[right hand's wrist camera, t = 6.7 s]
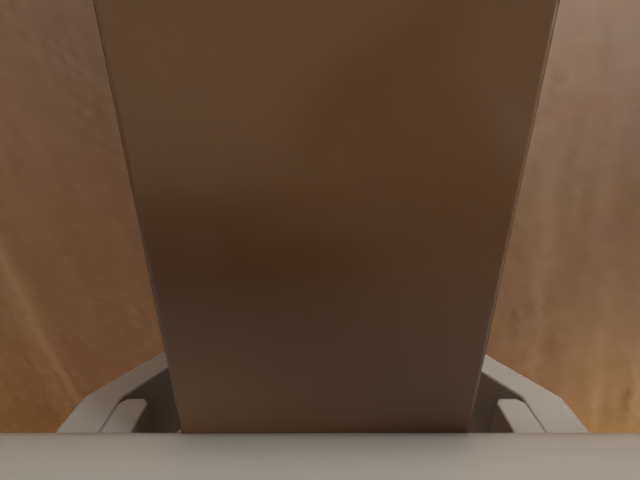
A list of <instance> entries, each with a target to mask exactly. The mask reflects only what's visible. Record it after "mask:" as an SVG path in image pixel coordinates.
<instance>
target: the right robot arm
mask: <svg viewBox="0 0 640 480" xmlns="http://www.w3.org/2000/svg"><path fill="white" fill-rule="evenodd" d="M180 429H181V428H180V423H179V418H178V413H177V408H176V403H175V398H174V394H173V389H172V384H171V379H170V374H169V369H168V364H167V359H166V354H165V351H163V352H161V353H160V354H158V355H156V356H154V357H153V358H151V359H149V360H147V361H146V362H144V363H142V364H141V365H139V366H137V367H135V368H134V369H132V370H130V371H128V372H127V373H125V374H123V375H122V376H120V377H118V378H116V379H115V380H113V381H111V382H109V383H108V384H106V385H104V386H103V387H101V388H99V389H97V390H96V391H94V392H92V393H90V394H89V395H87V396H85V397H84V398H83V399H82V400H81V401H80V403H79V404H78V405H77V406H76V407H75V409H74V410H73V411H72V412H71V413H70V415H69V416H68V417H67V418H66V419H65V421H64V422H63V423H62V424H61V426H60V427H59V428H58V429H57V430H56V432H55V433H0V480H640V433H590V432H589V431H588V430H587V429H586V427H585V426H584V425H583V424H582V423H581V421H580V420H579V419H578V418H577V417H576V415H575V414H574V413H573V412H572V411H571V409H570V408H569V407H568V406H567V405H566V403H565V402H564V401H563V400H562V399H561V398H560V397H558V396H557V395H555V394H553V393H552V392H550V391H548V390H546V389H545V388H543V387H541V386H539V385H538V384H536V383H534V382H532V381H531V380H529V379H527V378H525V377H524V376H522V375H520V374H519V373H517V372H515V371H513V370H512V369H510V368H508V367H506V366H505V365H503V364H501V363H499V362H498V361H496V360H494V359H492V358H491V357H489V356H487V355H486V354H485V357H484V362H483V366H482V371H481V376H480V381H479V385H478V390H477V395H476V399H475V404H474V409H473V414H472V418H471V423H470V428H469V433H202V434H184V433H177V432H178V431H179V430H180Z"/></svg>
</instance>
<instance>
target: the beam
mask: <svg viewBox="0 0 640 480" xmlns="http://www.w3.org/2000/svg"><path fill="white" fill-rule="evenodd" d="M93 2H94V7H95V12H96V17H97V22H98V26H99V31H100V36H101V41H102V46H103V51H104V56H105V61H106V66H107V70H108V75H109V80H110V85H111V90H112V95H113V100H114V105H115V110H116V115H117V119H118V124H119V129H120V134H121V139H122V144H123V149H124V154H125V159H126V163H127V168H128V173H129V178H130V183H131V188H132V193H133V198H134V203H135V208H136V212H137V217H138V222H139V227H140V232H141V237H142V242H143V247H144V252H145V256H146V261H147V266H148V271H149V276H150V281H151V286H152V291H153V296H154V301H155V305H156V310H157V315H158V320H159V325H160V330H161V335H162V340H163V345H164V349H165V354H166V359H167V364H168V369H169V374H170V379H171V384H172V389H173V394H174V398H175V403H176V408H177V413H178V418H179V423H180V428H181V433H184V434H202V433H469V428H470V423H471V418H472V414H473V409H474V404H475V399H476V395H477V390H478V385H479V381H480V376H481V371H482V366H483V362H484V357H485V352H486V347H487V343H488V338H489V333H490V329H491V324H492V319H493V314H494V310H495V305H496V300H497V295H498V291H499V286H500V281H501V277H502V272H503V267H504V262H505V258H506V253H507V248H508V243H509V239H510V234H511V229H512V225H513V220H514V215H515V210H516V206H517V201H518V196H519V191H520V187H521V182H522V177H523V173H524V168H525V163H526V158H527V154H528V149H529V144H530V139H531V135H532V130H533V125H534V121H535V116H536V111H537V106H538V102H539V97H540V92H541V87H542V83H543V78H544V73H545V69H546V64H547V59H548V54H549V50H550V45H551V40H552V35H553V31H554V26H555V21H556V17H557V12H558V7H559V2H560V0H93Z"/></svg>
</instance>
